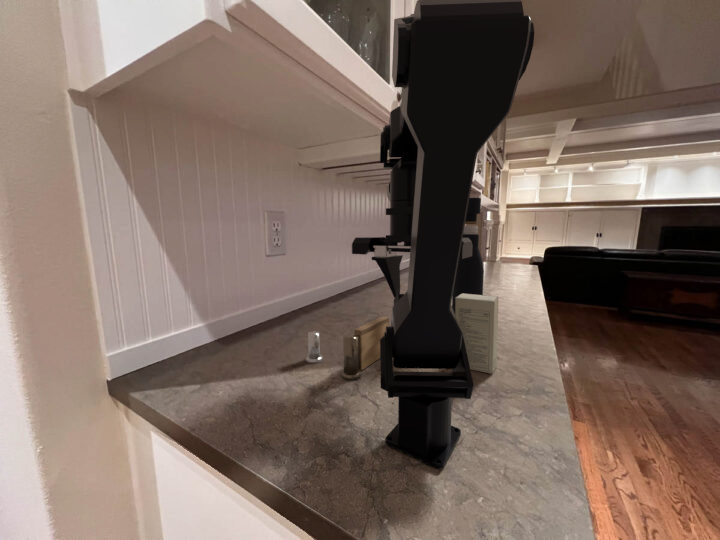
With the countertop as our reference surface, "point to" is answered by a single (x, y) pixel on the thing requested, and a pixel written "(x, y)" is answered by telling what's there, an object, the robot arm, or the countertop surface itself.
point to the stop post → (314, 348)
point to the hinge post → (350, 357)
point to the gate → (370, 341)
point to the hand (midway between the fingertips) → (406, 299)
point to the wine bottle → (470, 258)
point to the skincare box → (479, 329)
